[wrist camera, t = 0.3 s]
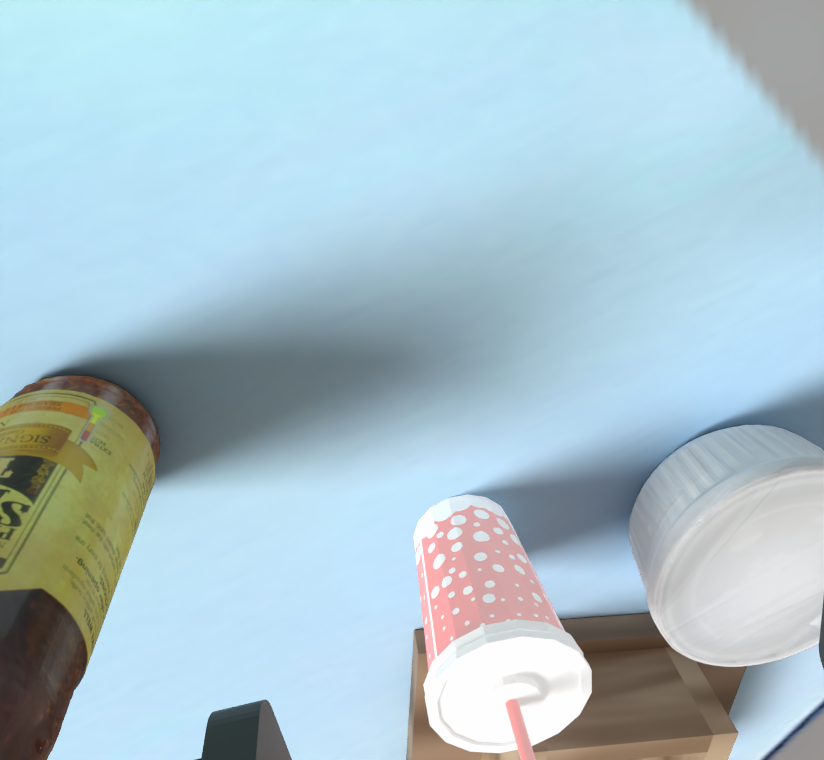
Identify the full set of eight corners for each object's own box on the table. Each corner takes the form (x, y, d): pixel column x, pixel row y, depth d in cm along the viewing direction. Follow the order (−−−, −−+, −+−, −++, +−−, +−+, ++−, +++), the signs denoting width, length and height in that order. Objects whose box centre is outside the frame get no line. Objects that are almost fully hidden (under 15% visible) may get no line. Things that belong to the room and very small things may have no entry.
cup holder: (414, 629, 36) (434, 748, 30) (745, 606, 38) (822, 711, 32) (405, 778, 41) (420, 903, 35) (694, 750, 44) (752, 861, 38)
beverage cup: (486, 596, 35) (582, 911, 23) (375, 564, 33) (415, 889, 21) (549, 503, 33) (693, 797, 21) (434, 463, 31) (517, 762, 19)
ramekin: (723, 612, 38) (780, 696, 34) (561, 547, 35) (601, 630, 30) (873, 456, 34) (962, 526, 30) (711, 363, 31) (783, 427, 26)
